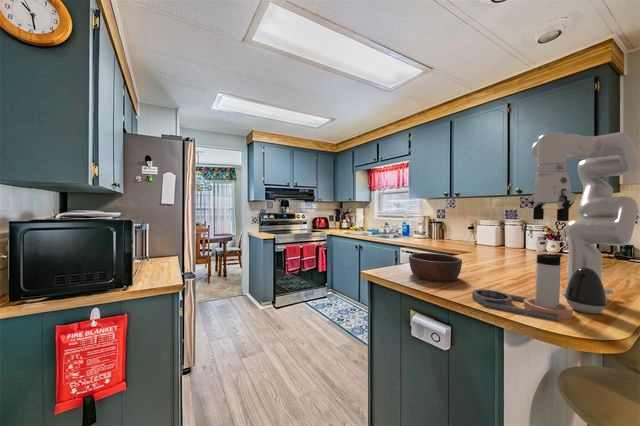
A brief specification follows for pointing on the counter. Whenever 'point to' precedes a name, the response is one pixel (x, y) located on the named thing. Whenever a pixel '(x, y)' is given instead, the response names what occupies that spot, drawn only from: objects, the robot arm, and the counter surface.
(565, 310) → the marked socket
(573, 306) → the dark gray tall dome
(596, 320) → the counter surface
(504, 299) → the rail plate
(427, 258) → the wooden bowl
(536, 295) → the travel mug
